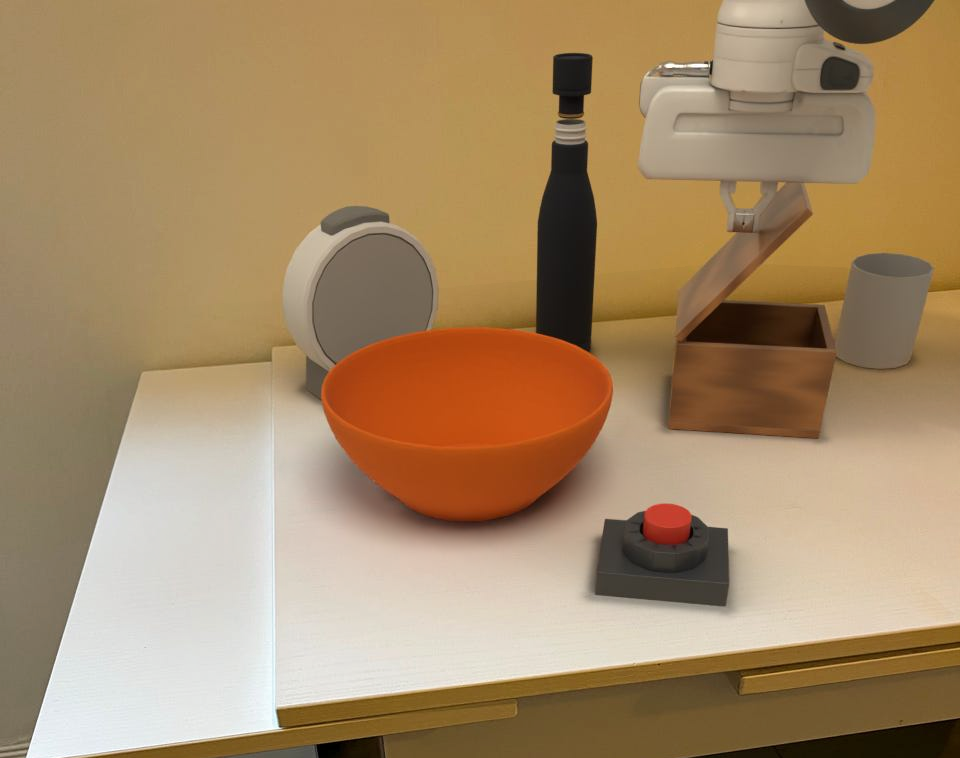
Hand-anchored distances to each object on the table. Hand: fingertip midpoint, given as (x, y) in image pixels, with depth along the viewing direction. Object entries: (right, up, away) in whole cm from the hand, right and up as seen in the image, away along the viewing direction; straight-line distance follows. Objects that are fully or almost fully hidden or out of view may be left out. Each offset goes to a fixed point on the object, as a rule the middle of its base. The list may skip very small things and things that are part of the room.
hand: (741, 231), depth 93 cm
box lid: (0, -2, +2) cm, 3 cm away
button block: (-10, -33, -13) cm, 37 cm away
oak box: (+3, -14, +11) cm, 18 cm away
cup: (+20, -6, +21) cm, 30 cm away
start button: (-10, -30, -15) cm, 35 cm away
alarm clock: (-37, -10, +17) cm, 42 cm away
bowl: (-26, -24, -1) cm, 35 cm away
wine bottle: (-15, -5, +23) cm, 28 cm away
